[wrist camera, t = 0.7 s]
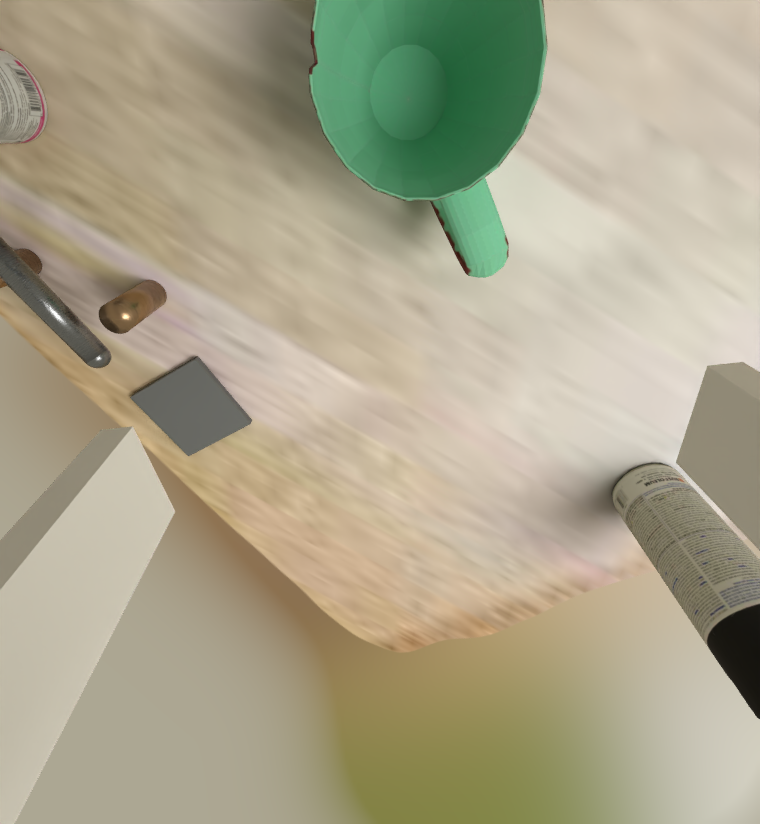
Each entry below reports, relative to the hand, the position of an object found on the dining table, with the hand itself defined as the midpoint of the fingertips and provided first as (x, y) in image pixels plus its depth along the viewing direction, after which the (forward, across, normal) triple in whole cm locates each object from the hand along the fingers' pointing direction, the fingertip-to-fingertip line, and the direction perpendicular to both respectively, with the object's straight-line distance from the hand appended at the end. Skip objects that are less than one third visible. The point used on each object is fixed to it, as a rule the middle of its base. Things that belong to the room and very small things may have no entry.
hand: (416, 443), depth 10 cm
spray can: (+24, +23, -26) cm, 42 cm away
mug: (+24, +3, +6) cm, 25 cm away
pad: (+24, -18, -12) cm, 32 cm away
